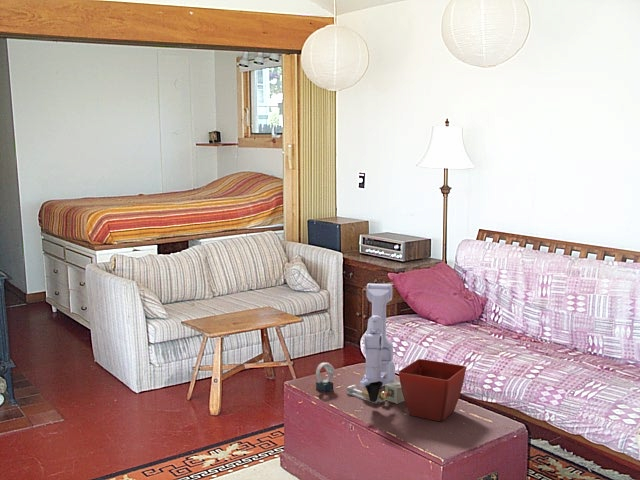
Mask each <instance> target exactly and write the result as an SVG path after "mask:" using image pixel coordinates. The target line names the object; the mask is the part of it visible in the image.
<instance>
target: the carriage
mask: <svg viewBox="0 0 640 480" xmlns="http://www.w3.org/2000/svg"><path fill="white" fill-rule="evenodd" d="M361 391H362V397H365V398H368V399H370V398H369V394H368V391H367V389H366V387H364V388H363V387H361ZM380 391H381V390H380ZM380 391H379V393H378V395H379V394H380V393H381V392H380Z"/></svg>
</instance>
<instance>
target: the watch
mask: <svg viewBox="0 0 640 480" xmlns="http://www.w3.org/2000/svg"><path fill="white" fill-rule="evenodd" d="M322 368H324V369H325V371H326V372H327V374H328V375H327V378H326V379H323V378H322V375H321V373H320V372H321V370H322ZM335 369H336V368H335V367H334V365H332V364H331V363H329V362H325V361H324V362H320V363H319V364H318V365H317V367H316V368H315V377H316V379H317V381H316V382H315V390H317V391H319V392H322V393H325V394H326V393H329V392H333V391H334V382H332V379H333V378H334V375H335V371H336V370H335Z"/></svg>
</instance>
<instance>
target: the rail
mask: <svg viewBox="0 0 640 480" xmlns="http://www.w3.org/2000/svg"><path fill="white" fill-rule="evenodd" d="M346 395H350V396H352V397H355V398H358V399H361V400H364V401H366V402H370V403H371V404H375V405H377V404H380V403H383V402H384V401H385V400H381V399H380V397H379V395H378V397H377V401H376V402H372V401H370V399H368V398H365V397H362V390H360V389H357V384H352V385H349V386H347V388H346Z"/></svg>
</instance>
